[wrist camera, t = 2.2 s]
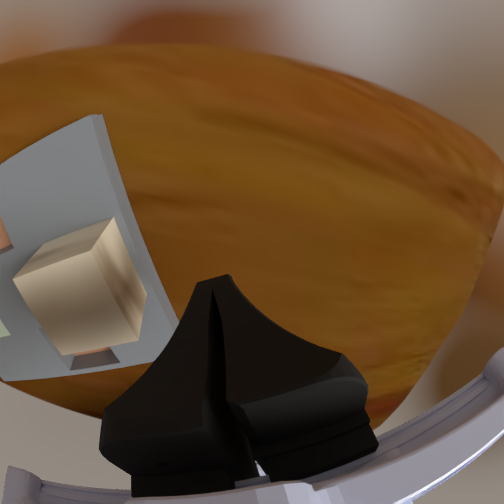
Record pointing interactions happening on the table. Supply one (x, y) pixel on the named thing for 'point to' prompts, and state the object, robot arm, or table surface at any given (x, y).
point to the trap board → (57, 225)
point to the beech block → (84, 289)
